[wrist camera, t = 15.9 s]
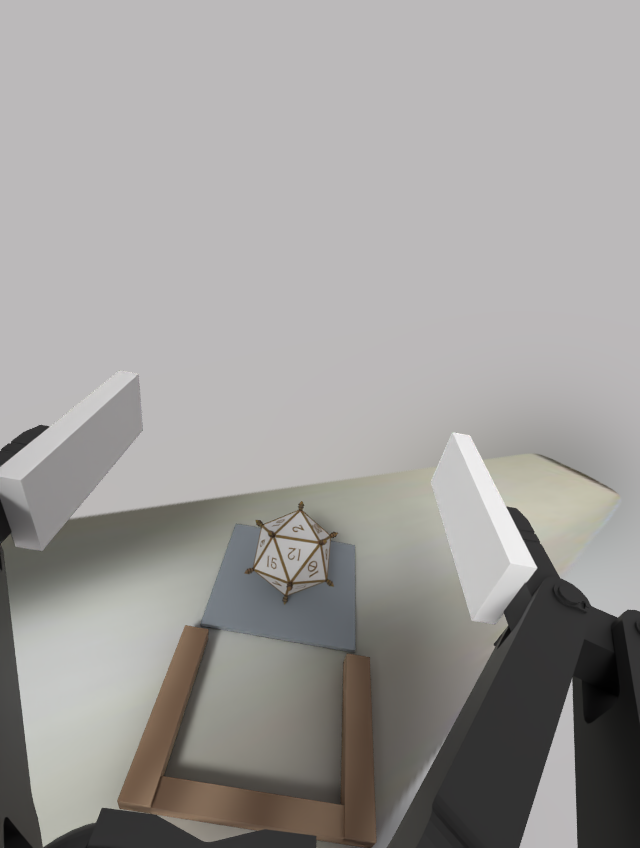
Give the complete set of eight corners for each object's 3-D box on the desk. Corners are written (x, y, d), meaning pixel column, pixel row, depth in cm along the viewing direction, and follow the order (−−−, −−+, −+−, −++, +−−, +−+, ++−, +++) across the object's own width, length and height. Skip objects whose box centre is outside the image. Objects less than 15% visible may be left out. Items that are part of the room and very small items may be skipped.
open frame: (119, 808, 24) (117, 800, 23) (185, 635, 33) (185, 625, 33) (370, 848, 24) (376, 842, 24) (365, 666, 34) (369, 657, 33)
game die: (278, 583, 43) (293, 493, 44) (344, 609, 38) (360, 508, 39) (218, 600, 35) (239, 491, 36) (293, 635, 31) (313, 510, 32)
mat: (200, 625, 34) (200, 623, 34) (235, 525, 44) (235, 523, 44) (354, 652, 35) (355, 650, 34) (354, 547, 45) (354, 545, 45)
